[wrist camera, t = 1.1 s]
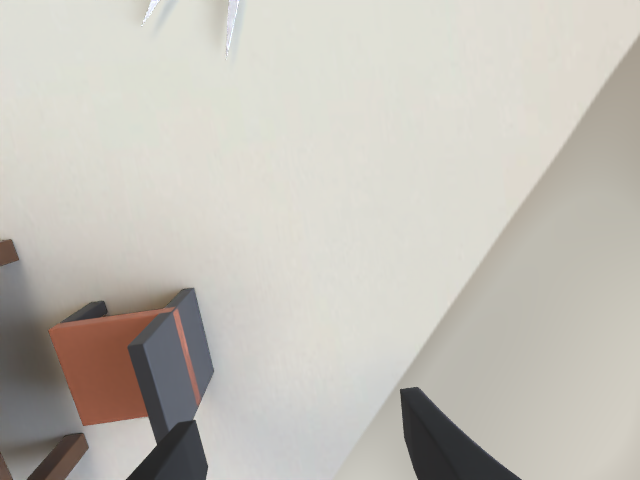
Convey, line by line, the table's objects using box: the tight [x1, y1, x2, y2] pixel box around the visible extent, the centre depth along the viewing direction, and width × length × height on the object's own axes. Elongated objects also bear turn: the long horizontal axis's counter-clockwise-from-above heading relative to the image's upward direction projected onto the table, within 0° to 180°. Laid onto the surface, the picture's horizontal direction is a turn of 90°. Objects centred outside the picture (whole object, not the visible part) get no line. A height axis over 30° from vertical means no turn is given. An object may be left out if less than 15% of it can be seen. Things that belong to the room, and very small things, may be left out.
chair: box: [48, 288, 214, 445], centre depth 16 cm, size 6×6×6 cm
